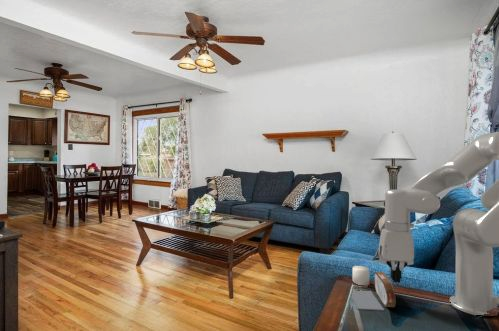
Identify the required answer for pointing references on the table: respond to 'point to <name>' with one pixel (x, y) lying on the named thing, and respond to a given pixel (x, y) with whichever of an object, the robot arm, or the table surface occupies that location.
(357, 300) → the mat
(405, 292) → the table surface
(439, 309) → the table surface
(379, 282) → the tin
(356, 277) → the white rounded dome
